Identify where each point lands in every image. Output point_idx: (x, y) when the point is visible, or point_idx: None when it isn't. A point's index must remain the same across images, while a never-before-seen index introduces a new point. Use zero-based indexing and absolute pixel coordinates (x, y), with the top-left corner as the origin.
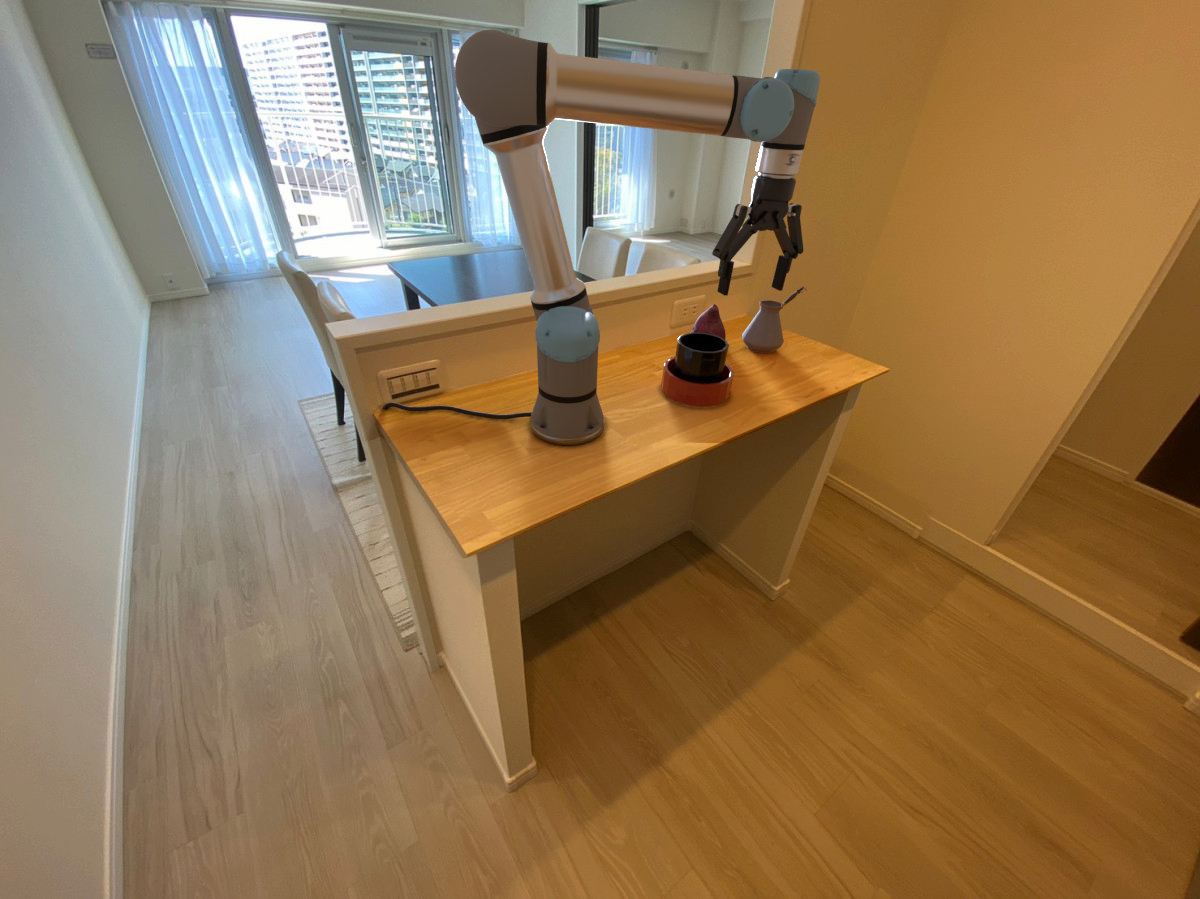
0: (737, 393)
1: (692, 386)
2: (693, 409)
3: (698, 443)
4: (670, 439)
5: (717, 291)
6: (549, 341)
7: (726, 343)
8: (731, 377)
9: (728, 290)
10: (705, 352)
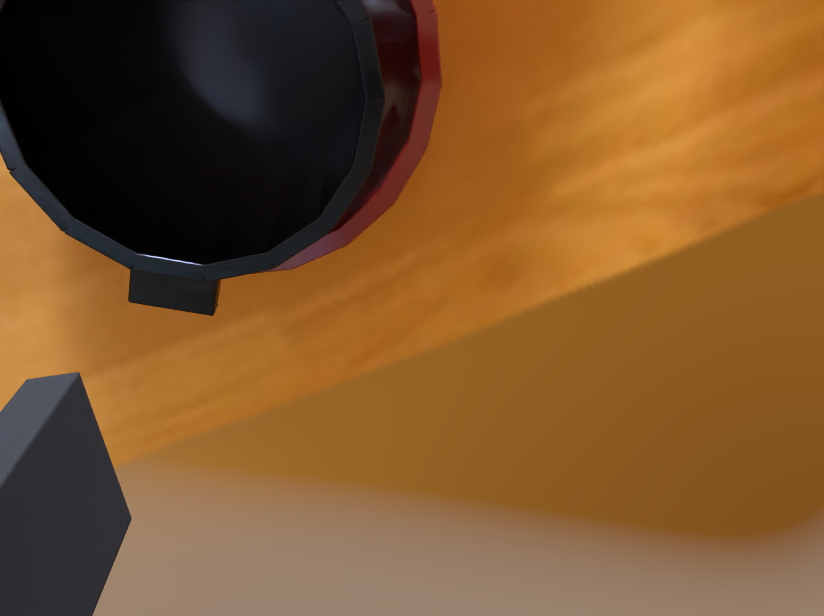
0: (468, 112)
1: None
2: None
3: (135, 449)
4: None
5: (28, 380)
6: None
7: (363, 146)
8: (382, 208)
9: (109, 566)
10: (147, 272)
